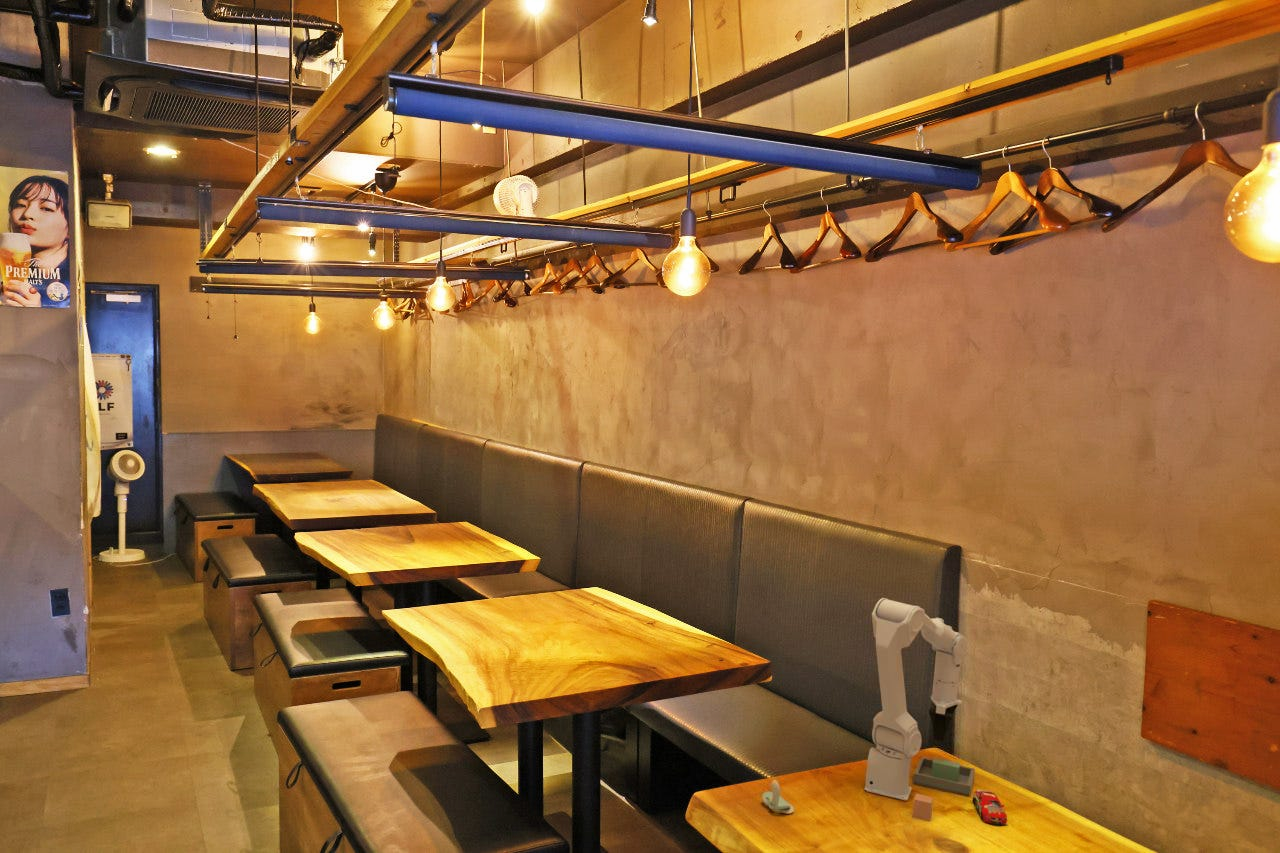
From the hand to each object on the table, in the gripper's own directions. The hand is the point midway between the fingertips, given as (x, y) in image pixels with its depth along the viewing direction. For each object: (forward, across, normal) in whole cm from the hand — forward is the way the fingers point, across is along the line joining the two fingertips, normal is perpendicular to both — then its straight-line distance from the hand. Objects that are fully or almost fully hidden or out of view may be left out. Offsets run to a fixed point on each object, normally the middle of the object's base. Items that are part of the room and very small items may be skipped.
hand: (940, 735), depth 230 cm
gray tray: (+9, -4, -2) cm, 10 cm away
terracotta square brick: (+10, -28, 0) cm, 30 cm away
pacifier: (+10, -43, +28) cm, 52 cm away
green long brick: (+9, -4, -2) cm, 10 cm away
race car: (+10, -17, -13) cm, 24 cm away
